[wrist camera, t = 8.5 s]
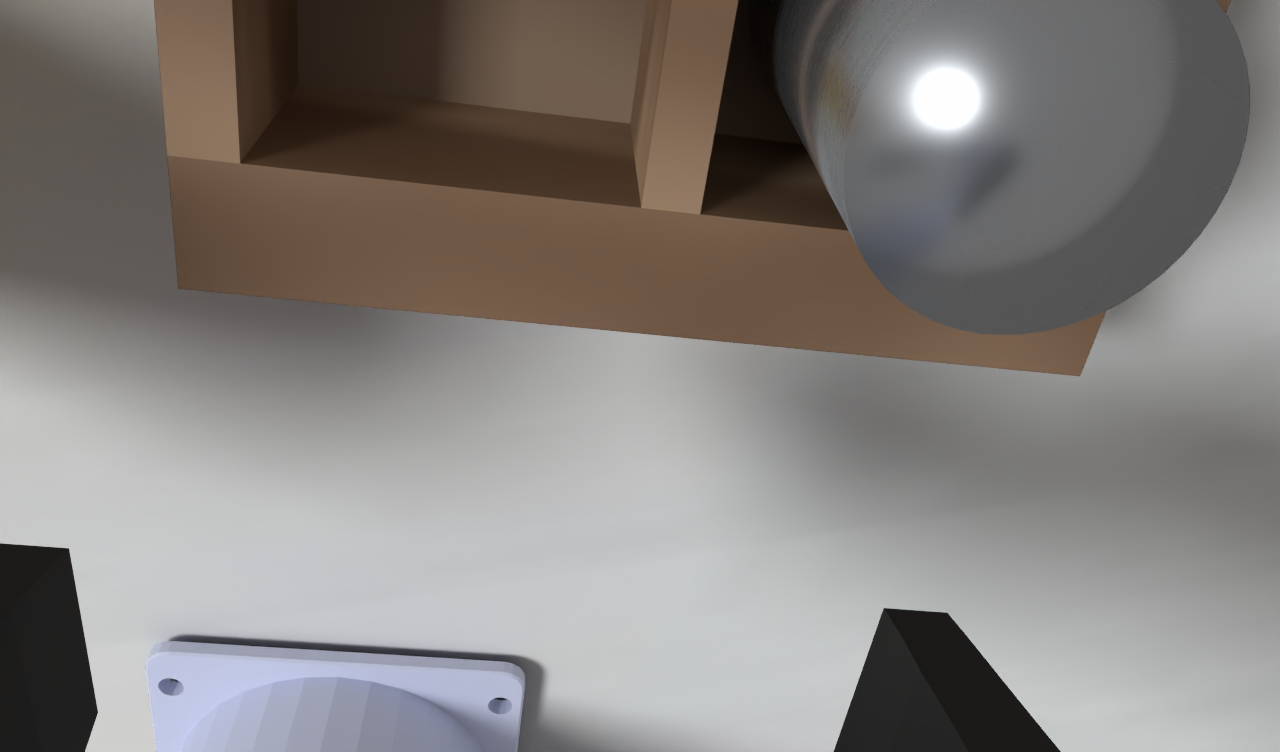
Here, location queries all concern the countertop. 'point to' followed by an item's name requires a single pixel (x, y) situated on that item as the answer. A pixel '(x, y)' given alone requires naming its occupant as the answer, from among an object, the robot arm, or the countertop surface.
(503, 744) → the robot arm
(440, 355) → the countertop surface
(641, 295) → the socket block
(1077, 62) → the peg
